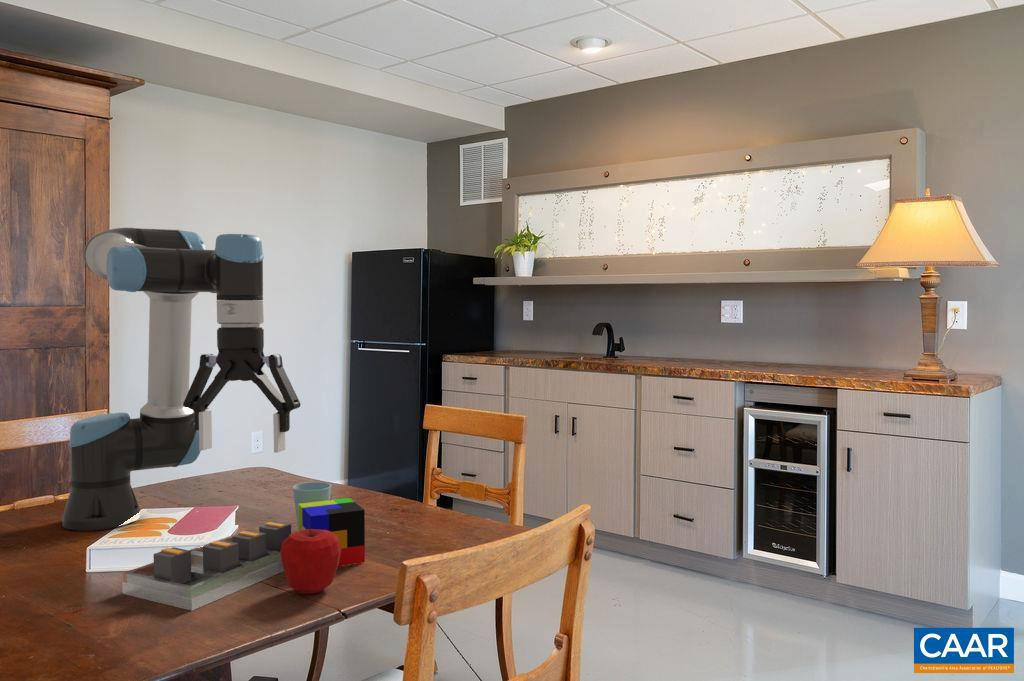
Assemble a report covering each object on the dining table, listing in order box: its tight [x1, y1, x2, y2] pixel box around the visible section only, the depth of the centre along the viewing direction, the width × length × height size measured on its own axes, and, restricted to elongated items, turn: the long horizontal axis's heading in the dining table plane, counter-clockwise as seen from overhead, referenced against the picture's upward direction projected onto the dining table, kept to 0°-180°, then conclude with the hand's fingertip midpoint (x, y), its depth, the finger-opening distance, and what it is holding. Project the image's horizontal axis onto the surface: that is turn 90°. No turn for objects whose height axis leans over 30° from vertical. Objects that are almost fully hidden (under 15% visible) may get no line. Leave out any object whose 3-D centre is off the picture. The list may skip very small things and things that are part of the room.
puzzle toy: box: [297, 497, 366, 567], centre depth 149 cm, size 10×10×10 cm
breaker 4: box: [258, 521, 292, 551], centre depth 145 cm, size 4×4×5 cm
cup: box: [292, 481, 332, 531], centre depth 163 cm, size 8×8×10 cm
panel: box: [121, 532, 284, 612], centre depth 138 cm, size 16×26×4 cm, turn 154°
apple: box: [280, 528, 342, 595], centre depth 132 cm, size 10×10×11 cm
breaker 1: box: [153, 546, 191, 584], centre depth 129 cm, size 4×4×5 cm
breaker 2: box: [202, 539, 239, 573], centre depth 133 cm, size 4×4×5 cm
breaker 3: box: [231, 530, 266, 562], centre depth 139 cm, size 4×4×5 cm
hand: (242, 450), depth 134 cm, fingers open, 13 cm apart
